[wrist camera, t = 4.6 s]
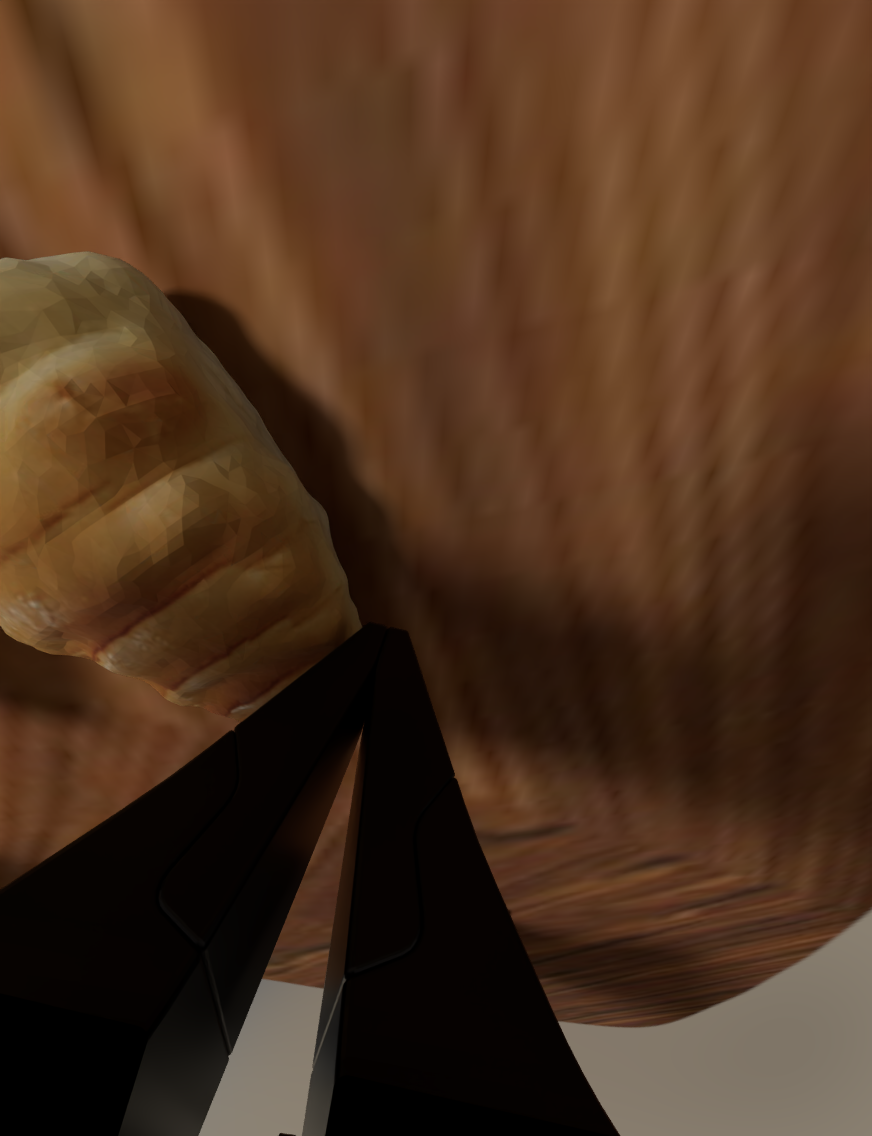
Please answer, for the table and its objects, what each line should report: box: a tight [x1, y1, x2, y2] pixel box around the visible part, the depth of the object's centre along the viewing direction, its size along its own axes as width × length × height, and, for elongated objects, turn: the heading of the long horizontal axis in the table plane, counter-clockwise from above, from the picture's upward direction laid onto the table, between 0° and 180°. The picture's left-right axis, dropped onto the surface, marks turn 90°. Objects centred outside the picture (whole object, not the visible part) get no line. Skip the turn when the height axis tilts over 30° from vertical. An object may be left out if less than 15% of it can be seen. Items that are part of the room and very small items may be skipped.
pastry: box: [0, 251, 362, 722], centre depth 7 cm, size 9×7×4 cm
